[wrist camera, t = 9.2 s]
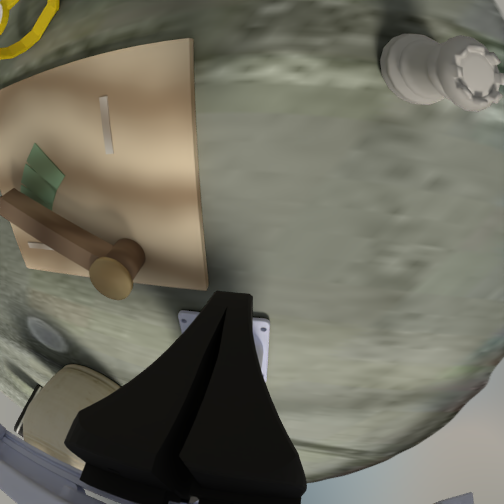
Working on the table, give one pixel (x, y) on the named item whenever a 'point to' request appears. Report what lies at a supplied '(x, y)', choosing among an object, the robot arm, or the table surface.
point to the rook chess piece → (442, 71)
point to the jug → (63, 409)
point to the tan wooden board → (112, 157)
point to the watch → (0, 21)
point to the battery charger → (19, 423)
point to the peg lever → (77, 244)
